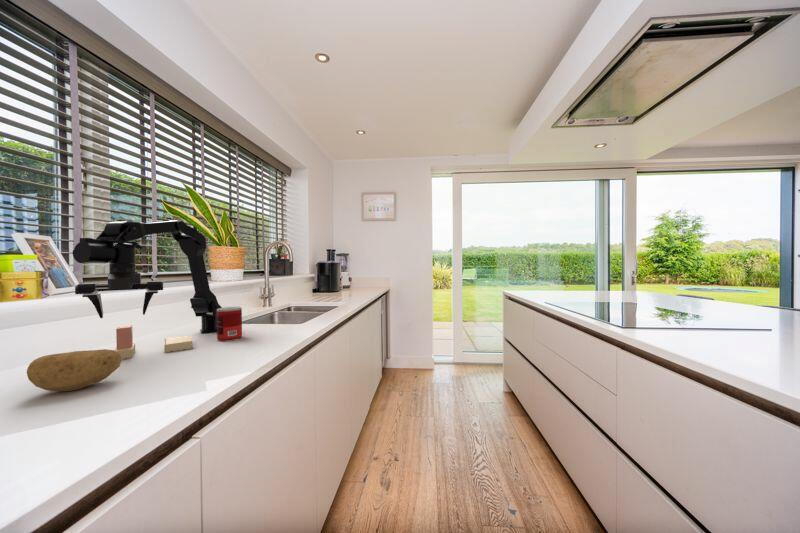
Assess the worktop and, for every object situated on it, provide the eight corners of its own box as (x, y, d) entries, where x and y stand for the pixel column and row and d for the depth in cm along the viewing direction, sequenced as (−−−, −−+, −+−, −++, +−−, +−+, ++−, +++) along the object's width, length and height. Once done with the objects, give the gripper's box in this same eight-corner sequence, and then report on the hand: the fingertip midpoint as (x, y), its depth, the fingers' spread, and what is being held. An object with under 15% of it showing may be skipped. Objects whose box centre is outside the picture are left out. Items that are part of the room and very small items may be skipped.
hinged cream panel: (164, 346, 98) (164, 338, 98) (190, 342, 103) (190, 334, 103) (164, 352, 90) (164, 344, 90) (192, 348, 95) (192, 340, 95)
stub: (117, 352, 91) (117, 325, 91) (135, 350, 94) (134, 323, 94) (113, 360, 83) (112, 330, 83) (132, 357, 86) (132, 328, 86)
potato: (119, 386, 64) (118, 349, 64) (17, 405, 56) (16, 363, 56) (125, 374, 72) (125, 341, 72) (37, 389, 64) (36, 352, 64)
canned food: (246, 336, 111) (246, 306, 111) (232, 341, 103) (232, 309, 103) (227, 336, 112) (226, 306, 112) (212, 341, 104) (211, 309, 104)
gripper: (69, 263, 76) (70, 324, 76) (162, 262, 88) (163, 315, 88) (79, 264, 85) (80, 318, 85) (162, 263, 97) (163, 311, 97)
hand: (123, 316), depth 88 cm, fingers open, 9 cm apart
